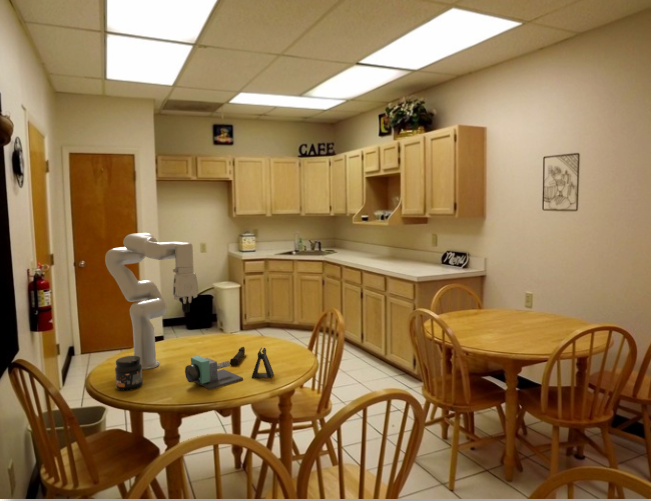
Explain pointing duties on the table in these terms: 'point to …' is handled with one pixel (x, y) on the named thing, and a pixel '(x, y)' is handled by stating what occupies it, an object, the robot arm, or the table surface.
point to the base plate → (222, 380)
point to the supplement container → (128, 373)
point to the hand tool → (238, 357)
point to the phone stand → (266, 363)
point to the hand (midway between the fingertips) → (186, 311)
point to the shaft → (194, 373)
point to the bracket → (213, 371)
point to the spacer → (202, 368)
